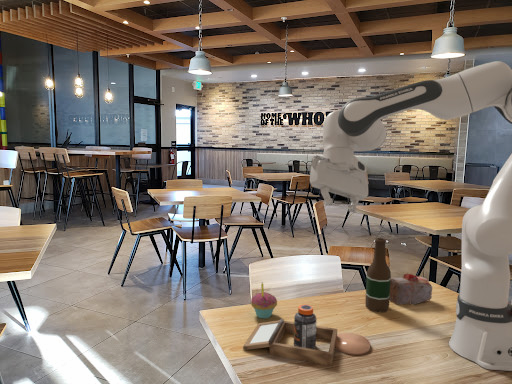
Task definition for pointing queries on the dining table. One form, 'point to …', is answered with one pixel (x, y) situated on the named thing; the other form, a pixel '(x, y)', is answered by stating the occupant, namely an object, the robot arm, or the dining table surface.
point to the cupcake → (263, 304)
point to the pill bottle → (305, 327)
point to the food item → (410, 290)
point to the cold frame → (302, 352)
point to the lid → (260, 335)
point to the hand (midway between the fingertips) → (340, 208)
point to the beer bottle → (378, 280)
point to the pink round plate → (352, 343)
